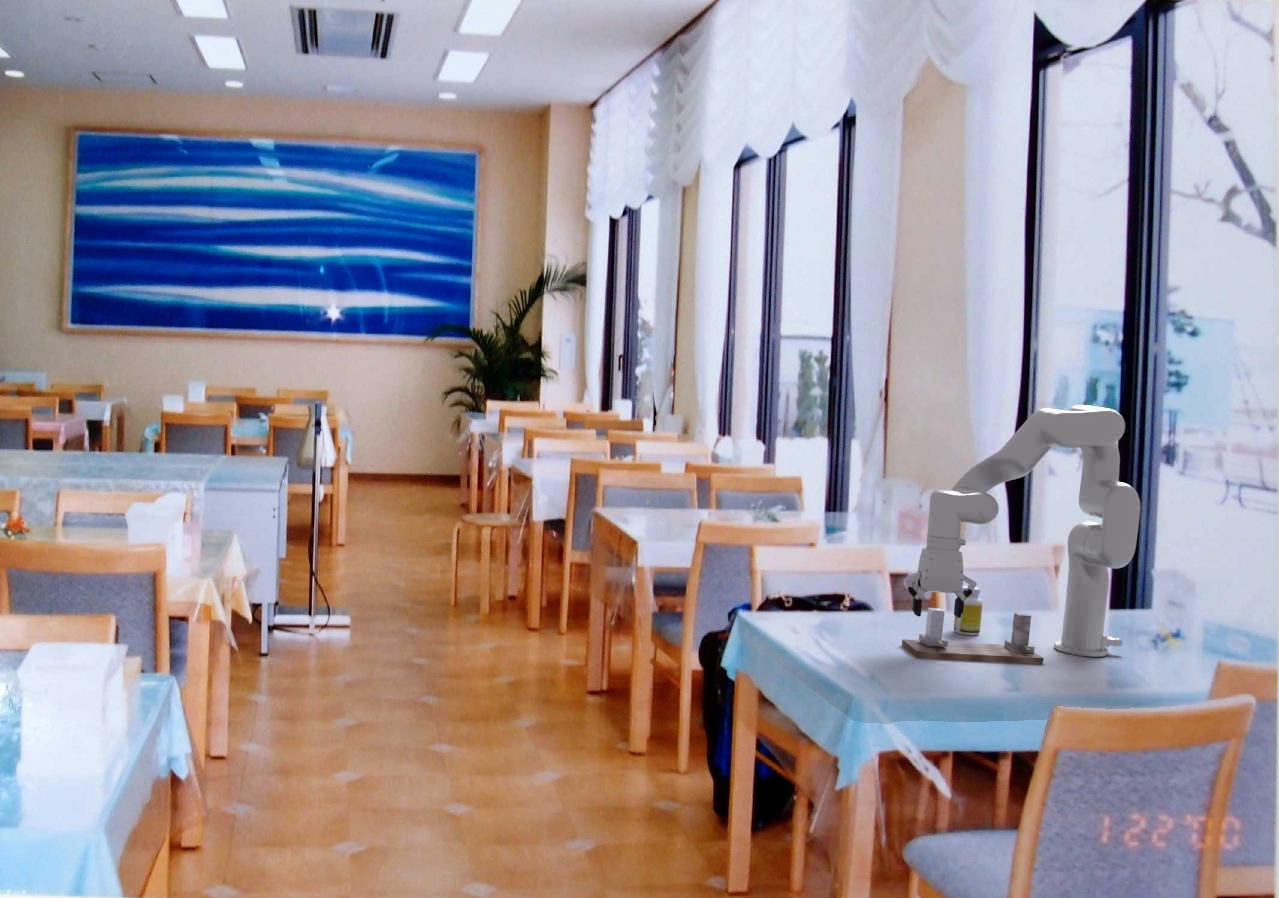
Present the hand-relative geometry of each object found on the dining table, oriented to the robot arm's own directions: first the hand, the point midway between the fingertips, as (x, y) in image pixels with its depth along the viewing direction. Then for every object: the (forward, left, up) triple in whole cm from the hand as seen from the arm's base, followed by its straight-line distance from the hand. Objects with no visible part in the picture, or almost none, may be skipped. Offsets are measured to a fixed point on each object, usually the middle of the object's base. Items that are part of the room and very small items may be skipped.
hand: (937, 615), depth 331 cm
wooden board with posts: (-9, +2, -9) cm, 12 cm away
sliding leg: (0, +2, -7) cm, 7 cm away
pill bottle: (-16, -22, -9) cm, 29 cm away
